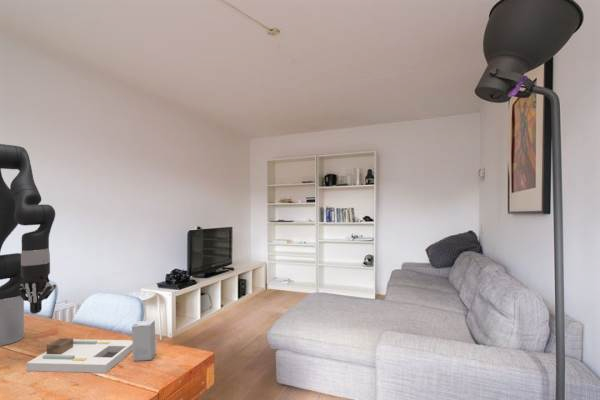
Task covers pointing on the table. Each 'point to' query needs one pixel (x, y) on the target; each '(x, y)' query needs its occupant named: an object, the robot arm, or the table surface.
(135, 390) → the table surface
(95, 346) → the board
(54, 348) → the walnut block
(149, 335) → the skincare box
